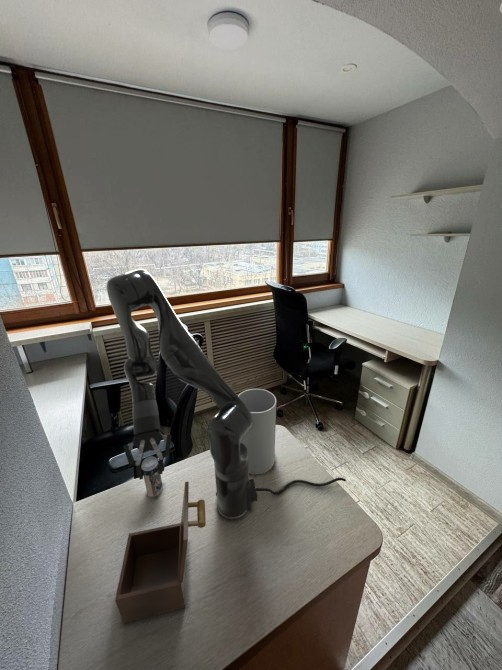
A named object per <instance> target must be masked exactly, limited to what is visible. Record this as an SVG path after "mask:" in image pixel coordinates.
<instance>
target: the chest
mask: <svg viewBox="0 0 502 670" xmlns="http://www.w3.org/2000/svg"><path fill="white" fill-rule="evenodd" d="M180 535H181V522H179V523H178V522H177V523H173V524H168V525H163V526H158V527H153V528H149V529H144V530H138V531H135V532H130V533H128V535H127V539H126V540H127V541H126V544H125V545H126V546H125V550H124V555H123V559H122V564H121V569H120V575H119V579H118V584H117V588H116V594H115V599H114V601H115V604H116V606H117V610H118V612H119V615H120V618H121V620H122V623H123V624H126V623H131V622H134V621H135V622H136V621H138V620H143V619H146V618H149V617H153V616H157V615H161V614H164V613H165V614H166V613H169V612H172V611H176V610H180V609H184V608H186V599H187V598H186V597H187V596H186V590H187V589H186V587H187V559H186V560H185V568H184V576H183V582H182V583H179V562H180Z"/></svg>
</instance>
